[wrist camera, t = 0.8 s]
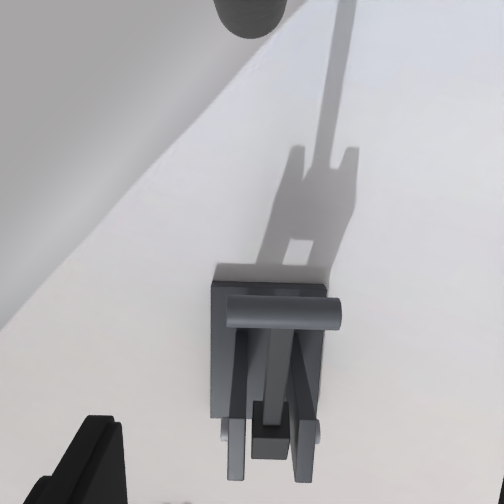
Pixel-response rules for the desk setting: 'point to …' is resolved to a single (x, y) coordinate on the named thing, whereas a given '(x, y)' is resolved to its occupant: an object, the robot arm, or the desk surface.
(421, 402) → the desk surface
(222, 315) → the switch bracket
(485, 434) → the desk surface
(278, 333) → the switch lever
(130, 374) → the desk surface
